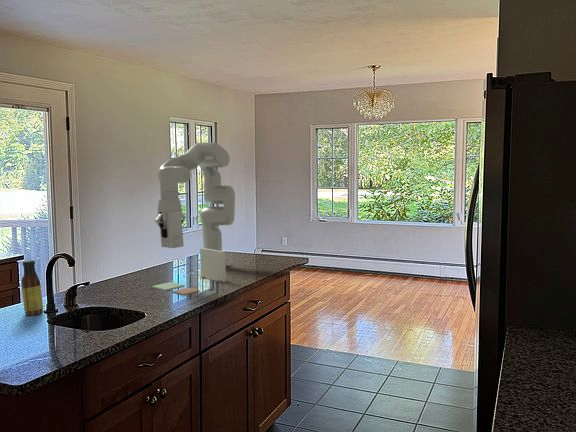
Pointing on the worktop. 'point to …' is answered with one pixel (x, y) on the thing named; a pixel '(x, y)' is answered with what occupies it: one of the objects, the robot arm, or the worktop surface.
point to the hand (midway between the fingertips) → (171, 236)
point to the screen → (213, 265)
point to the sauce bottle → (31, 289)
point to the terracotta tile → (185, 291)
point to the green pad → (168, 286)
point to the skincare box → (173, 231)
